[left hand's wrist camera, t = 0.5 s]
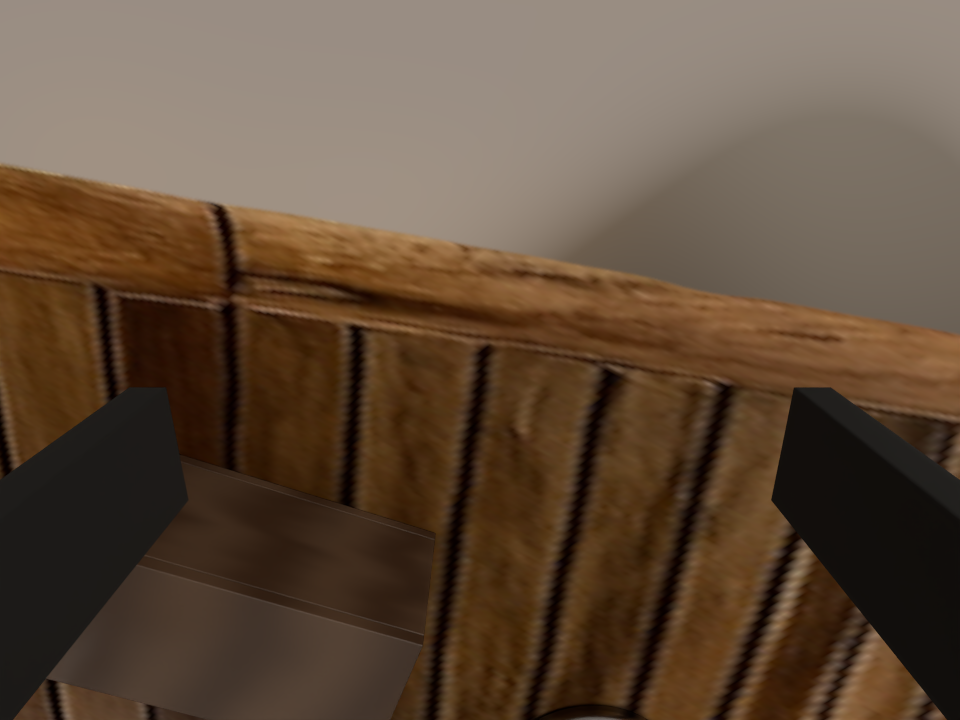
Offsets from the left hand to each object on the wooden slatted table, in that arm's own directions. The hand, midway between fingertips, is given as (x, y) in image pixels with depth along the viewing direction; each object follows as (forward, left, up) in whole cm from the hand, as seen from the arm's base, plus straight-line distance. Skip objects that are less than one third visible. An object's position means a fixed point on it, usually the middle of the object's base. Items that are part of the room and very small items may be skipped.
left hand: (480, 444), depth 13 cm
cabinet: (-25, +13, -27) cm, 39 cm away
